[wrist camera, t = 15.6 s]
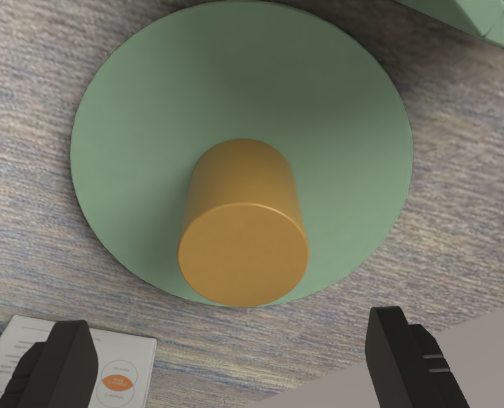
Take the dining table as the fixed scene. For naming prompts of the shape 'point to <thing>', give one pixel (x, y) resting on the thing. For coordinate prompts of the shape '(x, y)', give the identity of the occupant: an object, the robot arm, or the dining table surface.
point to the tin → (467, 16)
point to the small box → (109, 358)
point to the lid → (241, 154)
